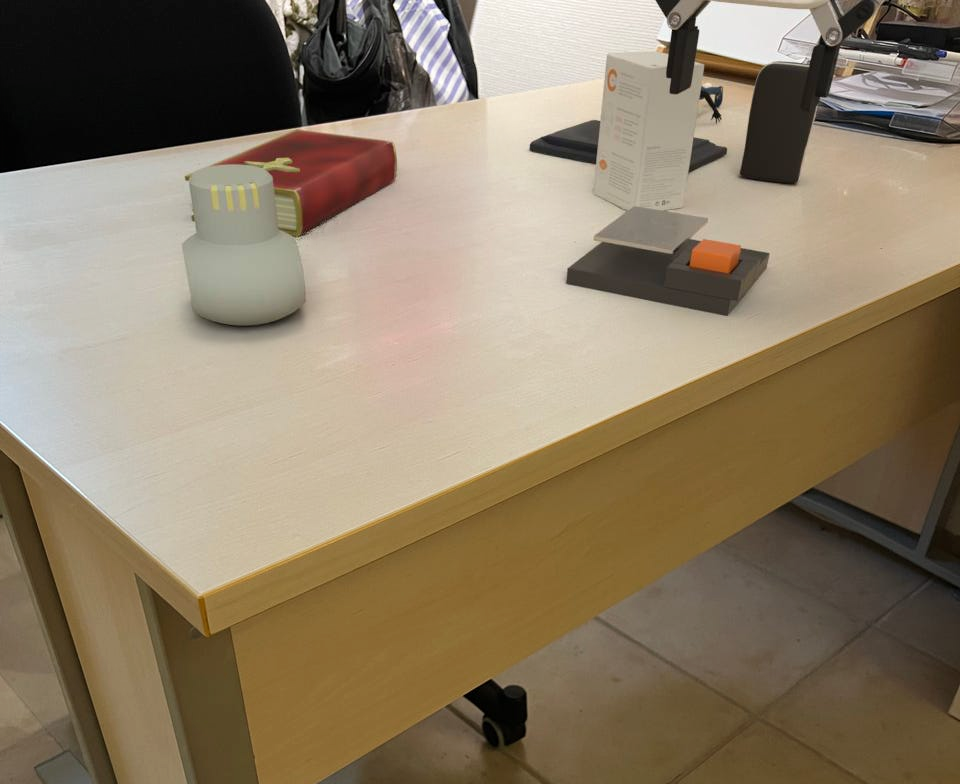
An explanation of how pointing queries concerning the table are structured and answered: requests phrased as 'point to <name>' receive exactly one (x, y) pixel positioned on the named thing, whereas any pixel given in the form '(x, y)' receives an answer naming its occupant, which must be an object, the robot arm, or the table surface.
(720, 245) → the button
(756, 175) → the battery charger
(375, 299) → the table surface
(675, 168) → the small box
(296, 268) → the air freshener
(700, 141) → the wallet
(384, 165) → the hardcover book
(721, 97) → the person figurine
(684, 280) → the scale
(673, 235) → the weighing plate
